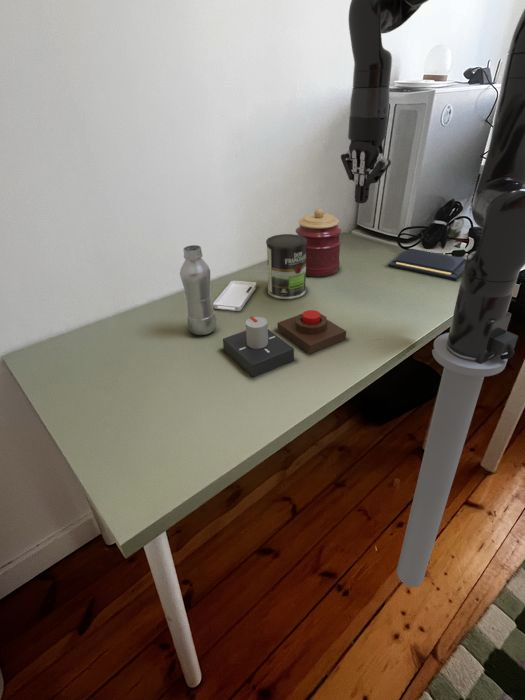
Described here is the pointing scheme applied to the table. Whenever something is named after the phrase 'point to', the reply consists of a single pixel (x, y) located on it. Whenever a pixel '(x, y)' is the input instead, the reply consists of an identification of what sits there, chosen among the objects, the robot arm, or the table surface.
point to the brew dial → (257, 332)
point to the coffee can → (286, 266)
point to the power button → (311, 317)
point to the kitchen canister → (320, 243)
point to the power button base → (311, 333)
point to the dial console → (258, 353)
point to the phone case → (234, 296)
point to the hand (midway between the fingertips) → (361, 202)
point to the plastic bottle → (197, 291)
